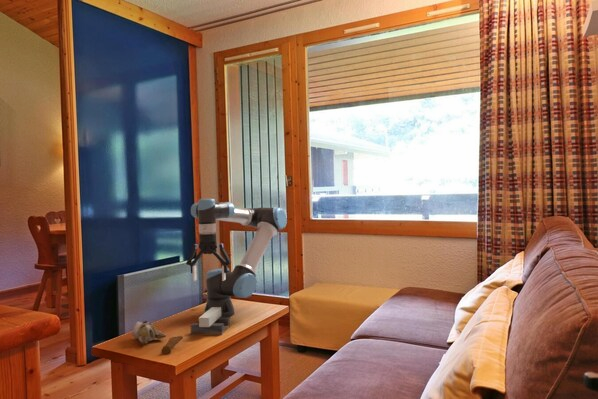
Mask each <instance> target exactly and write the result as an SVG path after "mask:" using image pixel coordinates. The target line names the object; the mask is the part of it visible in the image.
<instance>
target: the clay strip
mask: <svg viewBox="0 0 598 399" xmlns="http://www.w3.org/2000/svg"><path fill="white" fill-rule="evenodd" d="M220 317H221V307H212V308H210V309H209V310H208V311H207V312H205V313H204V312H203V314H201V316H199V317H198V323H199V327H210V326H211V325H212V324H213V323H214V322H215V321H216V320H217V319H218V318H220Z"/></svg>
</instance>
